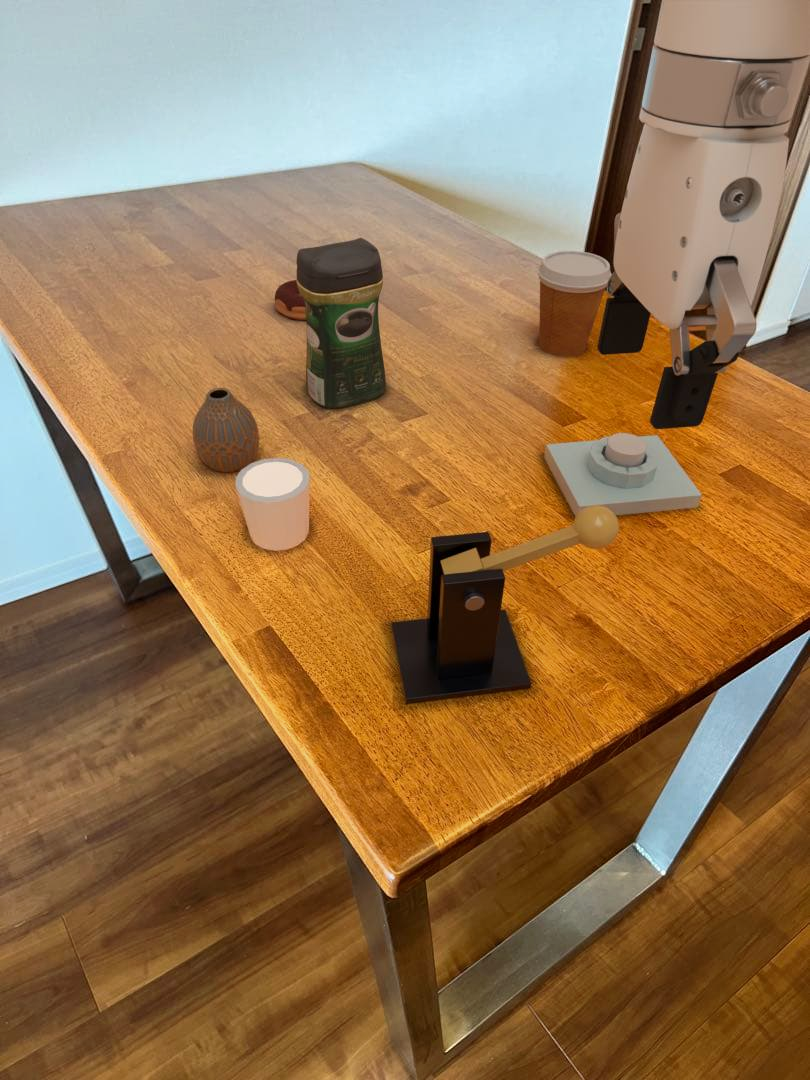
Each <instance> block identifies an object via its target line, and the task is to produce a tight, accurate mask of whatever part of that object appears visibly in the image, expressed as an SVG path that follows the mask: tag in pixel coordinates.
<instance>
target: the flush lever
mask: <svg viewBox="0 0 810 1080" xmlns="http://www.w3.org/2000/svg"><path fill="white" fill-rule="evenodd" d="M619 532H620V522H619V519H618V517H617V515H615V514H614V513H613V512H612V511H611V510H610V509H609V508H607V507H604V506H601V505H592V506H588V507H586V508H584V509H583V510H581V511H580V512H579V513H578V515H577V516H576V517H575V518H574V521H573V524H572V525H569V526H565V527H564V528H561V529H558V530H555V531H553V532H550V533H547V534H545V535H542V536H539V537H536V538H534V539H531V540H528V541H526V542H523V543H520V544H517V545H514V546H512V547H508V548H506V549H503V550H501V551H498V552H495V553H493V554H490V555H489V556H487V557H484V558H481V559H480V557H479V554H478V552H477V549H476V548H473V549H471V550H468V551H465V552H463V553H460V554H457V555H454V556H452V557H449V558H446V559H443V560H441V561H440V562H441V565H442V569H443V572H444V574H454V573H463V572H473V571H482V570H492V569H502V570H503V572H505V571H506V572H507V571H509V570H511V569H513V568H516V567H520V566H522V565H524V564H528V563H530V562H533V561H536V560H539V559H542V558H544V557H547V556H550V555H552V554H555V553H559V552H560V551H564V550H566V549H570V548H572V547H574V546H577V545H582V546H583V547H585V548H587V549H590V550H603V549H606V548H607V547H609V546H610V545H612V544H613V543H614V542H615V541H616V540H617V537H618V535H619Z"/></svg>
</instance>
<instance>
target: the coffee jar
mask: <svg viewBox="0 0 810 1080" xmlns="http://www.w3.org/2000/svg"><path fill="white" fill-rule="evenodd" d="M295 262H296V279H295V280H296V282H297V286H298V289H299V292H300V294H301V296H302V298H303V300H304V303H305V310H306V320H305V321H306V324H305V325H306V357H305V358H306V360H305V361H306V362H305V380H306V383H305V384H306V390H307V393H308V395H309V397H310V399H312V401H313V402H314V403H315V404H317V405H318V406H320V407H322V408H325V409H328V410H340V409H346V408H351V407H356V406H359V405H362V404H366V403H369V402H372V401H374V400H377V399H379V398H381V397H382V396H383V395H384V394H385V392H386V390H387V381H386V371H385V363H384V356H383V349H382V341H381V332H380V321H379V300H380V296H381V292H382V288H383V284H384V274H383V267H382V260H381V255H380V252H379V250H378V248H377V247H376V246H375V245H373V243H371V242H370V241H368V240H367V239H365V238H363V237H358V238H356V239H355V238H354V239H352V240H347V241H341V242H334V243H330V244H325V245H319V246H314V247H305V248H300V249H298V251H297V254H296V261H295Z"/></svg>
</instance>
